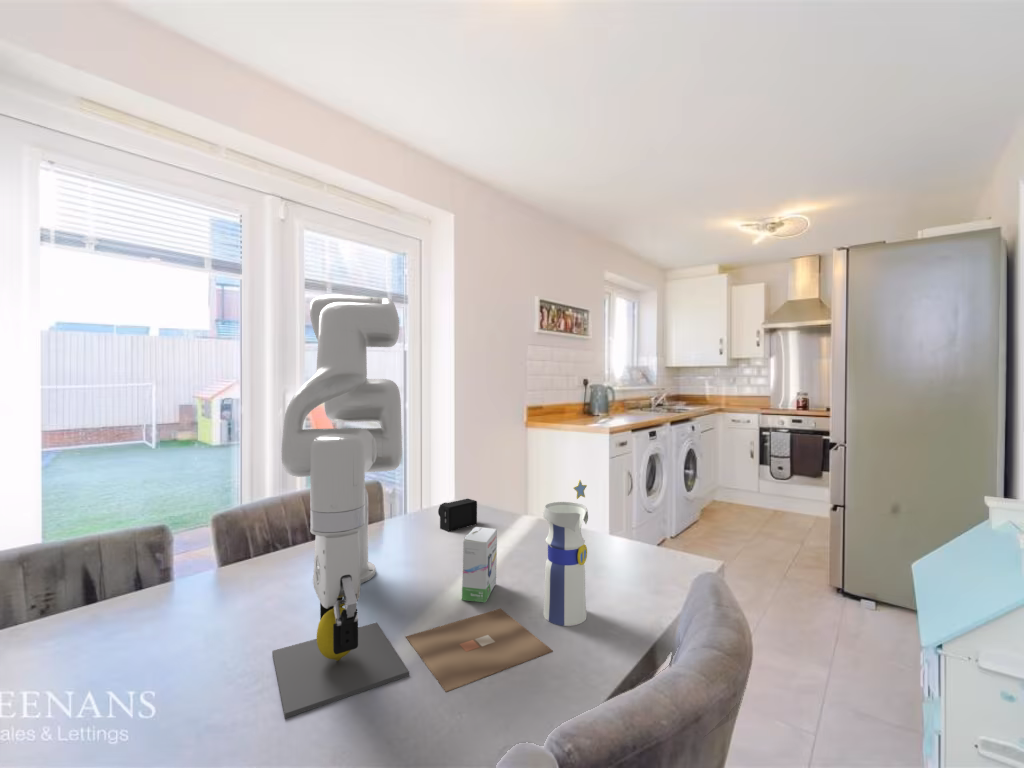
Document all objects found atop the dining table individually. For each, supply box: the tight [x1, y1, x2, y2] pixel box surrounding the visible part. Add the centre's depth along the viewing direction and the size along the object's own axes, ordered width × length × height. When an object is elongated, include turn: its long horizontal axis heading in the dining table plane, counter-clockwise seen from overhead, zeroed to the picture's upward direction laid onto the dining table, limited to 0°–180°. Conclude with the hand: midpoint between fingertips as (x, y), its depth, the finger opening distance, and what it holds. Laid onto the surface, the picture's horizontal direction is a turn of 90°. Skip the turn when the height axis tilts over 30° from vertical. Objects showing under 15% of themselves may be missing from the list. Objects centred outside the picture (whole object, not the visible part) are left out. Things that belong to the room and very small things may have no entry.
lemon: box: [316, 606, 351, 661], centre depth 69 cm, size 6×6×8 cm
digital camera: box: [437, 498, 478, 533], centre depth 136 cm, size 10×5×7 cm, turn 135°
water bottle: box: [542, 479, 589, 627], centre depth 84 cm, size 8×9×25 cm
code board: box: [405, 608, 554, 693], centre depth 75 cm, size 16×18×1 cm
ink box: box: [461, 526, 498, 603], centre depth 93 cm, size 9×5×12 cm, turn 168°
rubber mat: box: [271, 622, 410, 719], centre depth 69 cm, size 16×16×1 cm
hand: (338, 634), depth 69 cm, fingers open, 9 cm apart
